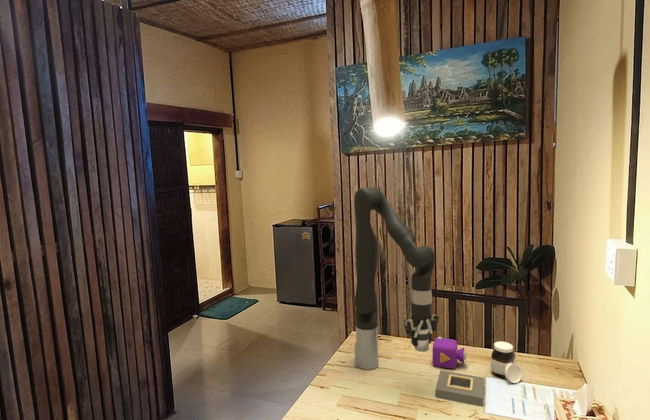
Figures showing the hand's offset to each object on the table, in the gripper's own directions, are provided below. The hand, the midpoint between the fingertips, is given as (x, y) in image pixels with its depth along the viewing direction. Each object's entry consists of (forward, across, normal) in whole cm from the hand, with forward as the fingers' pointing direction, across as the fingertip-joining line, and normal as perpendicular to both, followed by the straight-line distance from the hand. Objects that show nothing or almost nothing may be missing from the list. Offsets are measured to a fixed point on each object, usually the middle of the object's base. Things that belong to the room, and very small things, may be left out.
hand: (421, 344), depth 147 cm
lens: (+2, 0, 0) cm, 2 cm away
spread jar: (+18, +35, -7) cm, 40 cm away
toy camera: (+18, +21, +10) cm, 29 cm away
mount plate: (+17, +12, -7) cm, 22 cm away
